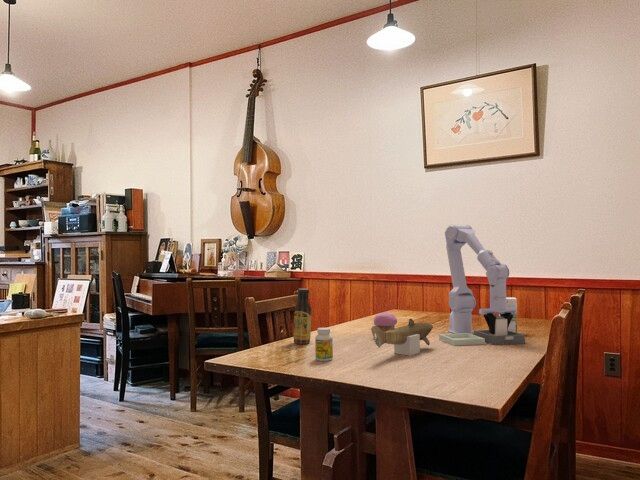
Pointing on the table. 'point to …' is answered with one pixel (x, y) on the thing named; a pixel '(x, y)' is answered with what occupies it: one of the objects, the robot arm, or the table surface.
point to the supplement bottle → (324, 345)
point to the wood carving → (404, 337)
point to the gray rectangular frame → (501, 337)
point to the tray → (461, 339)
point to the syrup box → (512, 303)
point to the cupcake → (385, 321)
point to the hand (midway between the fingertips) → (498, 333)
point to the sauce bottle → (302, 318)
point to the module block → (500, 326)
